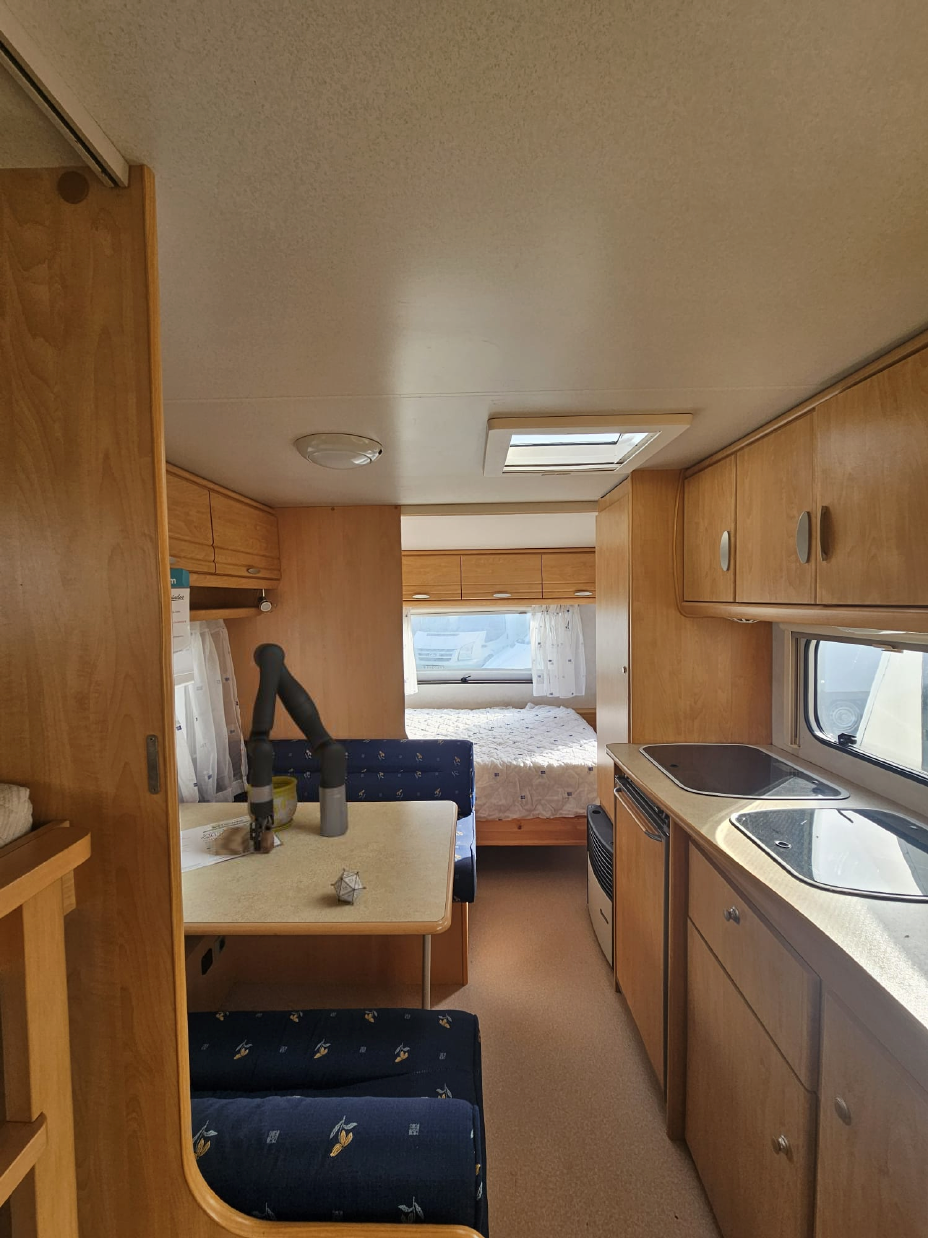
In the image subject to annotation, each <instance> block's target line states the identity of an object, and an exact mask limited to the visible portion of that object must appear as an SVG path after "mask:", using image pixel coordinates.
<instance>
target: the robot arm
mask: <svg viewBox="0 0 928 1238" xmlns="http://www.w3.org/2000/svg"><path fill="white" fill-rule="evenodd" d="M285 659H286V653H285V650H284V648H282V646H280V645H279V644H276V643H272V642H271V643H269V642H265V643H262V644H259V645H258V646H257V647H256V648H255V649H254V651H253V661H254V664H255V665H256V667H258V669H259V682H258V689H257V693H256V696H255V701H254V704H253V708H252V709H253V710H252V717H251V718H252V719H251V720H252V721H251V728H250V729H251V730H250V733H249V735H248V736H249V737H248V739H247V753H248V755H249V756H250V757H251V762H252V764H251V769H250V772H249V784H250V813H251V814H252V815H254V816H255V819H254V822H252V821H250V822H249V827H250V841H254V845H253V852H254V851H255V852H259V851H260V850H261V836H262V833H264V829H265V830H271V829H272V825H274V810H273V809H274V801H273V785H272V777H273V763H274V756H275V755H274V754H275V753H274V747H273V744H272V743H271V741H269V740H270V734H271V731H272V730H273V729H274V726H275V723H274V722H275V716H276V715H275V713H276V704H277V696H278V699H279V700H280V702H281V703H282V706H283V708H284V710H286V712H287V714H288V715H289V717H290V718H291V720H292V721H293V723H294V724H295V725H296V727H297V728H298V729H299V731H300V732H301V733H302V734H303V735H304V737H305V738H306V740H307V742H308V744H309V746H310V748H311V750H312V752H313V754H314V756H315V758H316V760H317V761H318V762H319V764H320V766H321V768H320V770H321V771H320V772H321V774H320V777H319V778H318V792H319V795H318V797H319V816H320V817H319V818H320V819H319V820H320V835H322V836H323V837H325V838H326V837H328V838H332V837H338V836H343V835H345V834H346V833H347V831H348V830H349V818H348V817H349V811H348V802H346V777H347V753H346V748H345V747H344V745H342V743H340V742H338V741H336V740H335V739H334V738H333V737H332V735H330V733H329V732H328V731H327V729H326V728H325V725H324V724H323V722H322V719H321V716H320V713H319V710H318V708H317V706H316V703H315V702H314V699H312V697H311V695H310V694H309V693H308V691H307V690H306V689H305V688H304V687H303V686H302V684H301V683H300V682H299V681H298V680H297V679H296V678H295V677H294V676H293V675H292V673H291V672H290V670H289V669H288V667H287V665H286V664H285ZM259 829H261V830H259Z"/></svg>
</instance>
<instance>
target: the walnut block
mask: <svg viewBox="0 0 928 1238" xmlns="http://www.w3.org/2000/svg"><path fill="white" fill-rule="evenodd" d="M252 845H253V846H254V841H253V844H252ZM273 849H275V832H274V830H264V833H262V836H261V850H260V851H259V852H255V851H254V850H253V855H269V854H271V852H272V851H273Z"/></svg>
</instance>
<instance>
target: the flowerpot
mask: <svg viewBox="0 0 928 1238" xmlns="http://www.w3.org/2000/svg"><path fill="white" fill-rule="evenodd" d="M297 782H298V781H297V779H296V778H295V777H293V776H292V777H291V776H283V775H281V776H272V785H273V801H274V809H273V810H274V825H272V829H271V830H274V833H276V832H281V831H283V830H286V829H287V828H289V827H290V826H291V825H292V823H293V822H294V818H293V817H294V816H295V814H296V811H297V808H298V795H297V791H296V790H297V786H296V785H297ZM245 789H246V791H247V815H248V817H249V820H250V822H254V819H255V816H254V815H252V814H251V813H250V783H249V784H248V785H247V786H246V788H245ZM259 830H261V829H259ZM264 830H265V829H264Z"/></svg>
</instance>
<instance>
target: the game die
mask: <svg viewBox="0 0 928 1238" xmlns="http://www.w3.org/2000/svg"><path fill="white" fill-rule="evenodd" d="M342 870H343V872H342V873H341V874H340V876H339V877H338V878H337V879H336V880H335V882H334V883H330V884H329V885H330V886H331V887H332V886H333V888H334V890H335V892H336V895H337V897H336V900H337V902H340V901H345V902H350V903H351V905H352V906H354V905H355V904H354V901H355V900H356V899H357V897H358V896H359V895H360V894H361V892H362V891H363V890H366V889H367V887H365V886H363V883H362V881H361V878H360V874H359V873H360V871H359V870H358V871H357V872H351V871H347V870H346V868H344V867H343V868H342Z"/></svg>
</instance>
